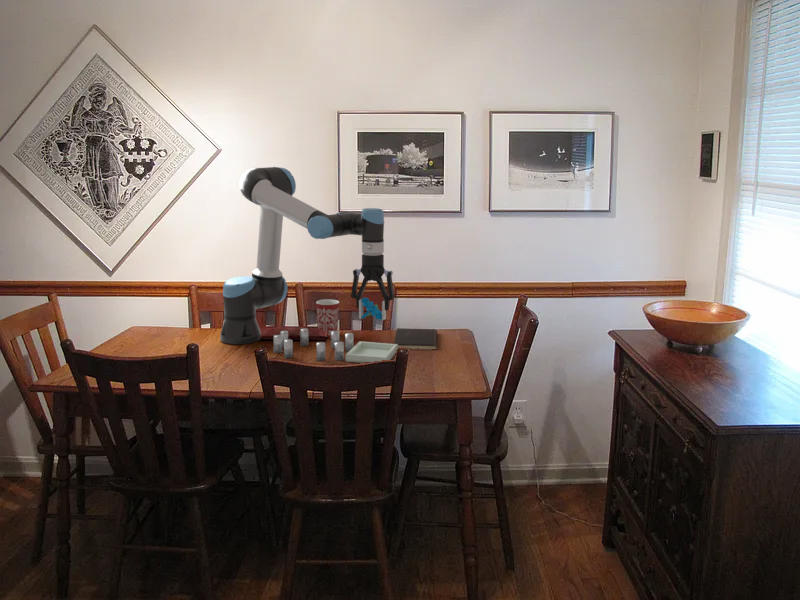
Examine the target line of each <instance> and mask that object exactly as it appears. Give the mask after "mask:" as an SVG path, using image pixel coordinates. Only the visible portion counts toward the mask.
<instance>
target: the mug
mask: <svg viewBox="0 0 800 600" xmlns="http://www.w3.org/2000/svg"><path fill="white" fill-rule="evenodd" d="M315 305H316V317H317V327H318V328H317V330H318V329H319V330H322V331H326V332H327V333H328V337H329V338H330V339H331V331H338V325H339V310H340V308H339V307H340V301H339V300H336V299H328V298H327V299H319V300H317V301H315ZM329 338H328V339H329Z"/></svg>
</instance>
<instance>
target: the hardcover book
mask: <svg viewBox="0 0 800 600" xmlns="http://www.w3.org/2000/svg"><path fill="white" fill-rule="evenodd" d="M393 344H398V348H400V347H406V348H409V349H408V350H432V349H437V350H438V330H437V329H434V328H432V329H431V328H407V327H406V328H402V327H401V328H400V327H399V328H398V327H397V328H396V331H395V335H394V339H393ZM410 348H411V349H410ZM417 348H419V349H417Z"/></svg>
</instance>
